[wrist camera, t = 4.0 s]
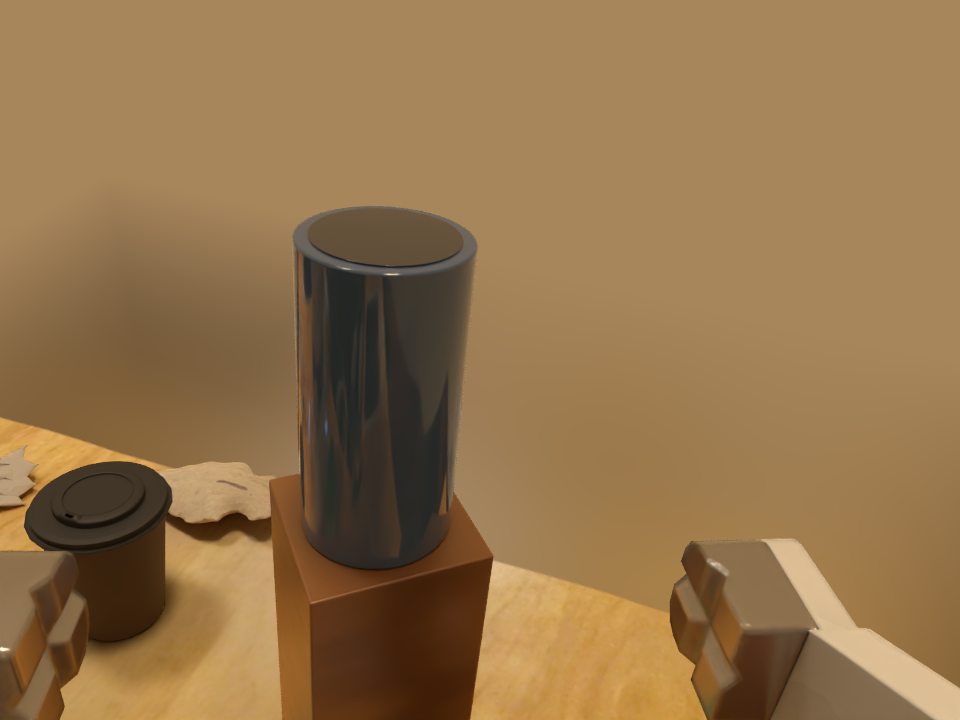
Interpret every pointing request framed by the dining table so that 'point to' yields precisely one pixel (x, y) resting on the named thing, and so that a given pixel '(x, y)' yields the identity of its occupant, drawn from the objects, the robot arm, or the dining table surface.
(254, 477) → the decorative stone
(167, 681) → the dining table surface
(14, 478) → the fairy figurine
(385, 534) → the tumbler
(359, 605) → the stand
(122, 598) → the coffee cup
